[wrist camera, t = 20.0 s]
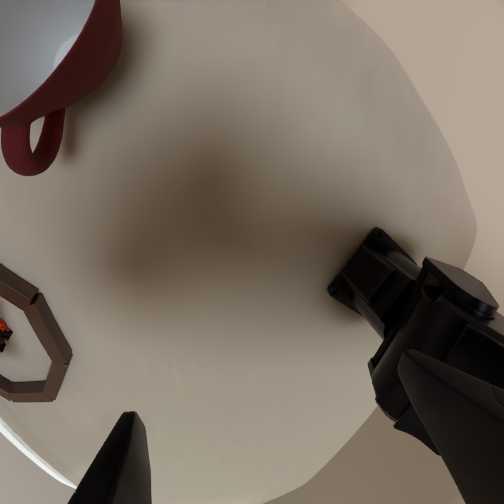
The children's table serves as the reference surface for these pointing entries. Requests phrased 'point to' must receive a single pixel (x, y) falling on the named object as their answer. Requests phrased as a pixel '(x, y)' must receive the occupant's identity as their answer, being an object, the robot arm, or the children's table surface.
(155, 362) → the children's table surface
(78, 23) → the mug
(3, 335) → the toy animal
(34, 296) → the hoop
